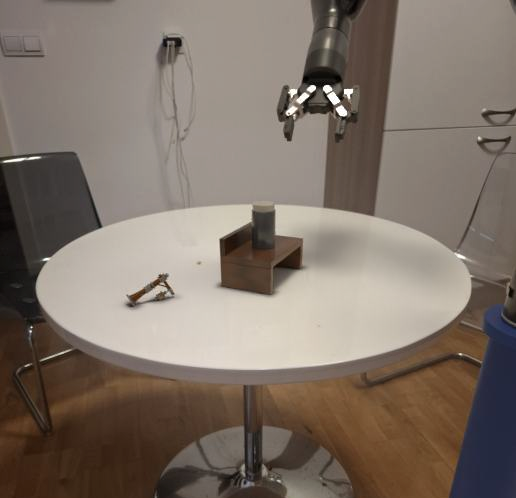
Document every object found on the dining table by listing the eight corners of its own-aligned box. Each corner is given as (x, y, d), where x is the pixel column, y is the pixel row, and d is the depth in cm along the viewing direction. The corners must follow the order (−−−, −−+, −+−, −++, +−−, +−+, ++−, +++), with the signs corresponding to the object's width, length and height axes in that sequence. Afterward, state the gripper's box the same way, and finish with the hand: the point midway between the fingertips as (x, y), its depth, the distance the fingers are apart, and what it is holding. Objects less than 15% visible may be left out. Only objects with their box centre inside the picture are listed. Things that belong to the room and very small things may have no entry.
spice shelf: (302, 267, 100) (303, 223, 96) (270, 294, 88) (270, 245, 83) (257, 260, 104) (257, 218, 100) (221, 286, 91) (219, 238, 87)
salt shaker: (278, 244, 94) (279, 201, 90) (269, 250, 90) (269, 206, 87) (258, 241, 96) (257, 199, 92) (248, 247, 92) (247, 204, 88)
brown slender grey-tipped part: (180, 292, 86) (167, 271, 83) (141, 317, 85) (127, 297, 82) (176, 289, 88) (164, 268, 85) (138, 313, 86) (125, 293, 84)
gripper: (284, 47, 87) (269, 123, 83) (366, 45, 84) (354, 124, 80) (290, 80, 94) (275, 152, 90) (365, 80, 91) (354, 154, 87)
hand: (312, 139), depth 85 cm, fingers open, 8 cm apart
